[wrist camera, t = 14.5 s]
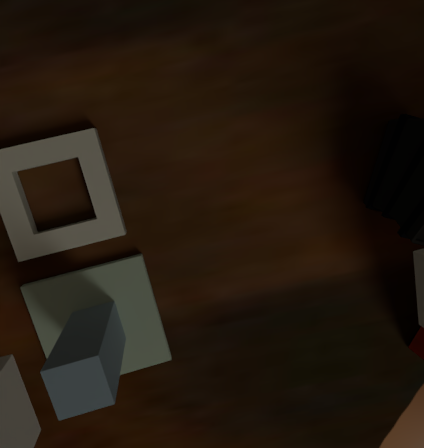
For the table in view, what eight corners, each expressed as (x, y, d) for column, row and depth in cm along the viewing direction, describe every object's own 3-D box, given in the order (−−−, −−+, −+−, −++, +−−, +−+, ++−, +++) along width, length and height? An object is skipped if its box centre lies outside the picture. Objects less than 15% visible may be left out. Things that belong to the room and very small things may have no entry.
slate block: (72, 312, 43) (40, 371, 31) (114, 300, 44) (98, 355, 32) (85, 349, 44) (58, 420, 33) (126, 338, 45) (114, 404, 33)
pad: (23, 284, 43) (20, 287, 42) (141, 253, 44) (141, 255, 43) (61, 387, 46) (59, 392, 45) (171, 355, 47) (171, 359, 46)
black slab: (430, 98, 44) (519, 152, 31) (372, 190, 51) (426, 263, 39) (403, 89, 43) (483, 141, 31) (348, 184, 50) (395, 256, 38)
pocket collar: (-15, 154, 39) (-22, 154, 38) (96, 128, 41) (94, 127, 39) (23, 258, 42) (18, 262, 41) (126, 231, 43) (125, 234, 42)
